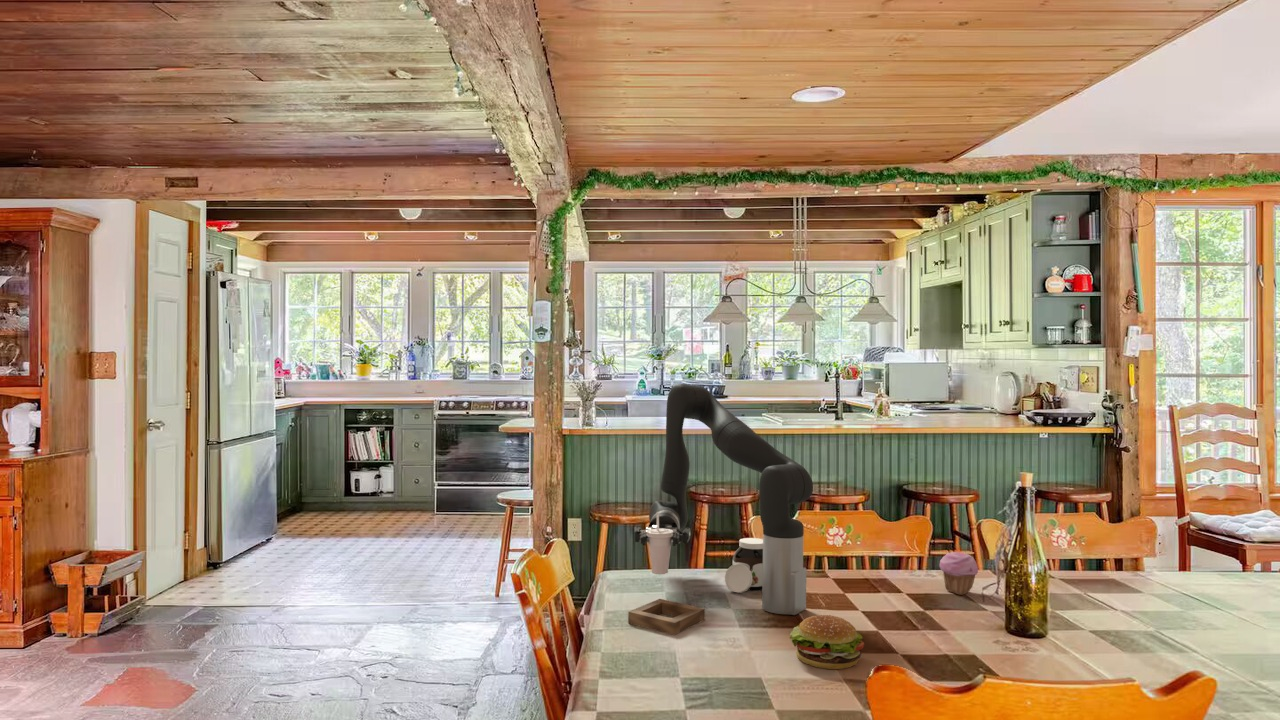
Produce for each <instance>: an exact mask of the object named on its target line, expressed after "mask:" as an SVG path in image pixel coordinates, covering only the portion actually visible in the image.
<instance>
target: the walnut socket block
mask: <svg viewBox="0 0 1280 720" xmlns="http://www.w3.org/2000/svg"><path fill="white" fill-rule="evenodd" d="M705 610H706V609H705V608H703V607H699V606H694V605H689V604H685V603H680V602H677V601H672V600H667V599H663V598H658V599H655V600H653V601H650V602H648V603H646V604H643V605H641V606H638V607H636V608H634V609H632V610H630V611H628V614H627V615H628V617H627V619H628V621H627V623H628V624H631V625H634V626H638V627H641V628H646V629H648V630H649V629H650V630H654V631H658V632H661V633H666V634H669V635H673V636H675V635H678V634H679V633H682V632H683V631H686V630H687V629H689V628H691V627H694V626H695V625H698V624H699V623H702V622H704V621H705V617H706V616H705V614H706V613H705ZM661 614H663V615H661ZM664 615H667V616H664ZM668 616H670V617H668ZM671 616H672V617H671Z"/></svg>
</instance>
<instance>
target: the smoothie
mask: <svg viewBox="0 0 1280 720" xmlns="http://www.w3.org/2000/svg"><path fill="white" fill-rule="evenodd" d="M647 536H648V542H647V544H648V551H649V557H650V565H651V572H652V574H654V575H666V574H668V573H669V565H670V558H671V550H672V549H671V547H672V543H671V542H672V536H673V530H670V529H663V528H659V513H657V528H656V529H649V530H647Z"/></svg>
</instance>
